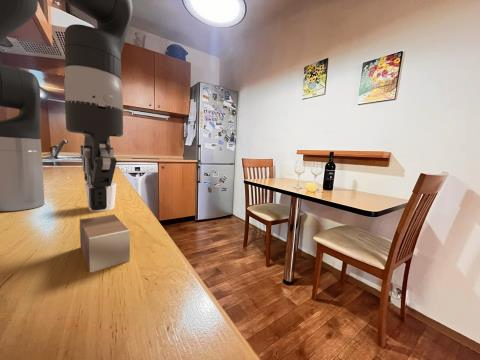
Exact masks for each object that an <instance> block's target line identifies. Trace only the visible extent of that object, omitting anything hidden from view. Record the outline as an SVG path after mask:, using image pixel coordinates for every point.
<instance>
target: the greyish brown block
mask: <svg viewBox="0 0 480 360" xmlns="http://www.w3.org/2000/svg"><path fill="white" fill-rule="evenodd" d="M130 232H131V231H130V229H129V228H128V227H127V226H126V225H125V224H124V223H123V222H122V221H121V220H120V219H119V218H118V217H117V216H116V214H108V215H102V216H101V215H100V216H95V217H94V216H93V217H88V218H80V219H79V235H80V236H79V237H80V238H79V239H80V242H79V244H80V250H81V251H82V255H83V257H84V261H85V262H86V265H87V269H88V270H89V272H90V273H94V272H98V271H101V270H104V269H107V268H110V267H114V266H117V265H120V264H124V263H127V262H130V260H131V257H130V256H131V250H130V249H131V247H130V245H131V233H130Z"/></svg>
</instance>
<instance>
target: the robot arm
mask: <svg viewBox="0 0 480 360" xmlns="http://www.w3.org/2000/svg"><path fill="white" fill-rule="evenodd" d="M63 1H64V2H66V3H67V4H69V6H70V5H71V7H74V8H75V9H76V10H78V11H80V12H82V13H83V14H85V15H87V16H89V18H91V19H93V20H95V21H96V24H97V26H96V27H92V26H89V25H84V24H78V23H77V24H70V25H68V26H67V27H66V28H65V31H64V37H63V38H64V59H65V60H64V61H65V74H64V85H63V87H64V90H63V91H64V110H65V111H64V114H65V129H66V130H67V132H69V133H72V134H82V135H84V141H83V143H84V144H83V145H82V144H81V145H80V146H79V154H80V157H81V161H82V162H81V163H82V172H83V175H84V180H85V182H86V183H87V186H88V187H90V188H89V206H90V208H91V209H92V210H93V211H92V212H95V211H96V210H103V209H106V207H107V192H106V188H108V186H111V184H112V182H113V179H114V174H115V170H116V165H117V162H118V161H117V158H116V157H114V155H115V152H114V148H113V147H112V146H111V140H110V137H118V138H119V137H120V138H121V137H122V136H123V135H124V94H123V87H122V86H123V85H122V52H123V49H124V45H125V41H126V38H127V34H128V31H129V28H130V25H131V22H132V18H133V13H134V10H133V9H134V7H133V1H132V0H63ZM38 2H39V0H0V45H1V44H2V43H3V41H5V40H6V38H7V37H9V36H10V35H11V34H12V33H14V32H16V31H17V30H18V29H20V28H21V27H23V26H24V25H26V24H27V23H28V22H29V21H30V20H32V19H33V17H34V16H35V15H36V13H37V11H38V7H39V6H38V5H39V3H38ZM40 88H41V87H40V83H39V79H38V77H37V76H36V75H35V74H34V73H33V72H31V71H30V72H29V71H27V70H24V69H20V68H16V67H14V66H13V67H11V66H9V65H5V64H1V63H0V107H3V108H10V109H15V110H18V111H19V112H18V115H16V116H13V117H11V118H7V119H3V120H0V212H14V211H24V210H30V209H35V208H39V207H42V206H44V205H45V184H44V183H45V182H44V172H43V171H44V170H43V155H42V152H43V151H42V139H41V89H40Z"/></svg>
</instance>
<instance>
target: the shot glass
mask: <svg viewBox="0 0 480 360" xmlns="http://www.w3.org/2000/svg"><path fill="white" fill-rule="evenodd" d="M84 186H85V192H86V199H87V206H88V210H89V211H90V212H94V213H95V212H107V210H108V211H110V210H111V211H112V210H113V209H115V202H116V193H117V191H116V190H117V183H116V182H115V181H112V184H111V186H108V188H106V192H107V207H106V209H103V210H96V211H93V210H92V209H91V208H90V206H89V188H90V187H88V186H87V182H86V183H84Z"/></svg>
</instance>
